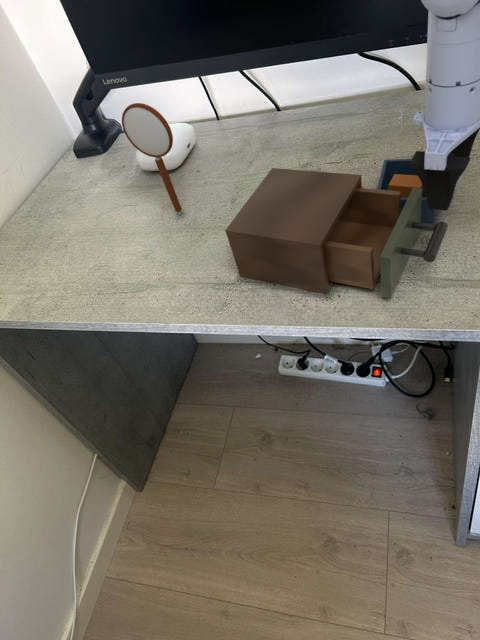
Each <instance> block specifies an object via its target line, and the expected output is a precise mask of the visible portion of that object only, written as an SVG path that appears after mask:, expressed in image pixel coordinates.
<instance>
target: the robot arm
mask: <svg viewBox="0 0 480 640" xmlns="http://www.w3.org/2000/svg"><path fill="white" fill-rule="evenodd" d="M420 1H421V4H422V5H423V6H424V8H426V10H427V13H428V14H427V38H426V39H427V41H426V63H425V69H426V70H425V95H424V110H418V111H416V112H415V114H414V116H413V120H412V124H413V125H414V126H417V127H418V126H420V127H422V132H423V136H424V142H425V148H426V149H425V150H424V151H423V150H416V151H415V152H414V153H413V156H412V158H411V159H412V169H413V171H414V172H415V173H416V174H417V175H418V177H419V179H420V180H421V182H422V185H423V188H424V191H425V195H426V199H427V203H428V206H429V208H430V209H435V210H436V211H443V212H444V211H448V210H449V208H450V206H451V203H452V201H453V198H454V194H455V190H456V187H457V183H458V180H459V179H460V177H461V176H462V175H463V174H464V173H465V171H466V169H467V168H468V165H469V163H470V161H471V153H472V150H473V146H474V143H475V140H476V138H477V135H478V134H479V132H480V0H420Z"/></svg>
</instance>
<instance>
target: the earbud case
mask: <svg viewBox="0 0 480 640" xmlns="http://www.w3.org/2000/svg"><path fill="white" fill-rule="evenodd" d="M168 125H169V126H170V129H171V132H172V136H173V144H172V148H171V150H170V151H169V153H168V154H166V155H165V156H162V159H163V162H164V165H165V167H166V170H167V171H173V170H175V169H177V168H179V167H180V166H181V165H182V164H183V162H184V161H185V160H186V158H187V157H188V155H189V154H190V152H191V151H192V149H193V148H194V146H195V145H196V141H197V134H196V130H195V129H194V127H193V125H191V124H189V123H187V122H186V123H185V122H176V123H168ZM155 159H156V158H155V157H150V156H148V155H145V154H143V153H142V152H140V151H139V150H138V149H136V152H135V160H136V164H137V165H138V167H139V168H140V169H141V170H143V171H147V172H159V169H158V167H157V165H156V162H155Z"/></svg>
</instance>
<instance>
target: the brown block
mask: <svg viewBox="0 0 480 640" xmlns="http://www.w3.org/2000/svg"><path fill="white" fill-rule="evenodd" d="M413 188H419V189H422V198H425V191H424V188H423V185H422V182H421V180H420V179H419V177H418V176H416V175H402V174H394V176H393V178H392V180H391V182H390V184H389V191H400V192H401V198H408V197H409V195H410V193H411V191H412V189H413Z"/></svg>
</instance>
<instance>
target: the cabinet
mask: <svg viewBox="0 0 480 640" xmlns="http://www.w3.org/2000/svg"><path fill="white" fill-rule="evenodd" d="M362 183H363V182H362V174H354V173H341V172H329V171H315V170H302V169H292V168H291V169H289V168H278V167H272V168H271V169H270V170H269V172H268V173H267V174H266V175H265V176H264V178H263V179H262V181H261V182H260V183H259V184H258V186H257V188H256V189H255V190H254V192H253V193H252V194H251V195H250V197H249V198H248V199H247V201H246V202H245V203H244V205H243V206H242V207H241V209H240V210H239V211H238V213H237V214H236V215H235V216H234V218H233V219H232V221H231V222H230V223H229V225H228V226H227V227H226V228H225V234H226V238H227V240H228V243H229V246H230V249H231V253H232V255H233V258H234V262H235V264H236V268H237V270H238V274H239V277H241V278H245V279H246V278H247V279H251V280H257V281H260V282H266V283H271V284H276V285H281V286H286V287H290V288H295V289H299V290H304V291H309V292H315V293H320V294H324V295H328V294H329V293H330V291H331V289H332V287H333V285H334V283H335V282H332V281H328V276H327V269H326V262H325V255H324V248H323V246H324V244H325V242H326V240H327V239H328V237H329V235H330V233H331V232H332V230H333V228H334V227H335V225H336V223H337V221H338V220H339V218H340V216H341V214H342V213H343V211H344V209H345V208H346V206H347V204H348V202H349V201H350V199H351V197H352V195H353V194H354V192H355V190H356V189H357V188H363V184H362Z"/></svg>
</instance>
